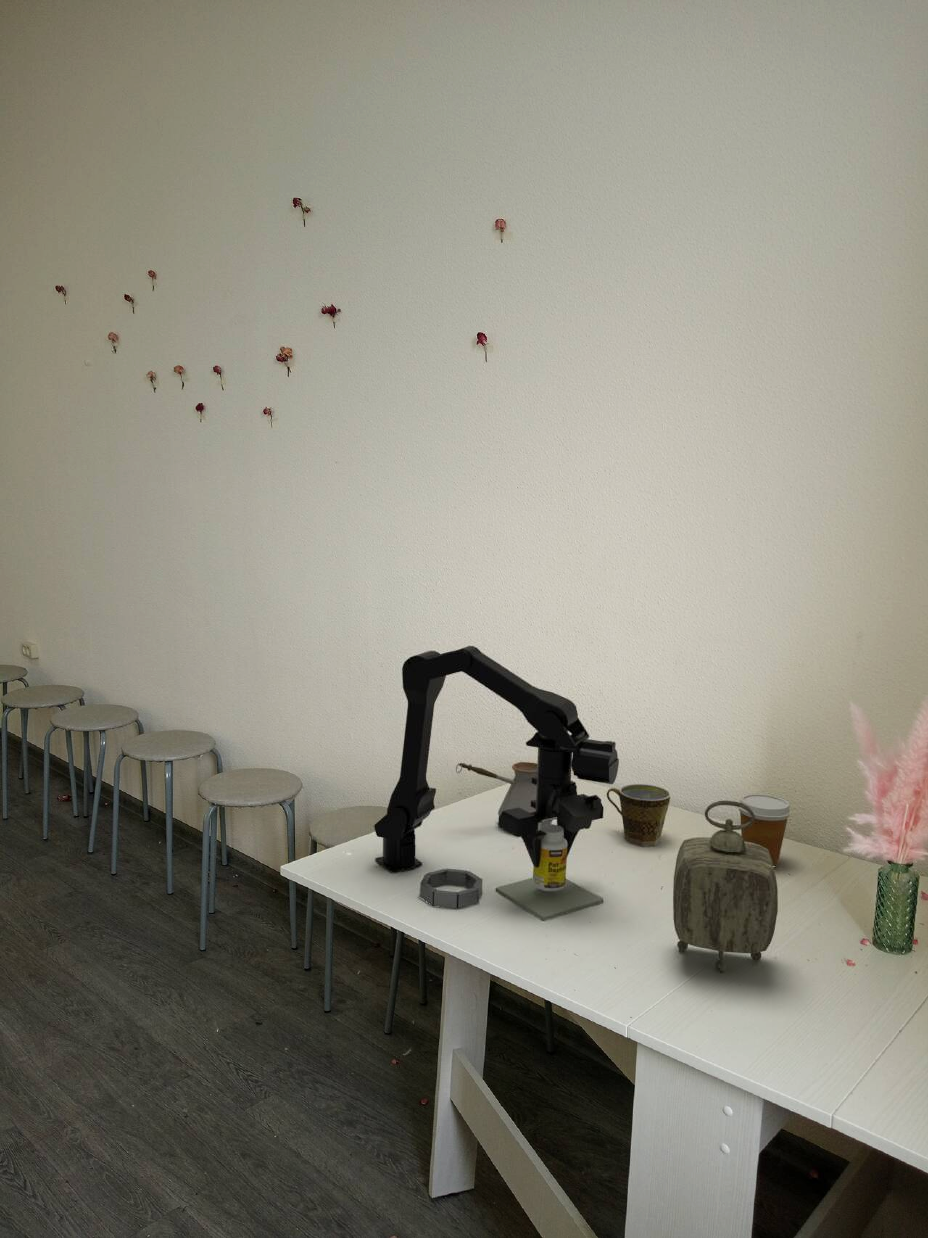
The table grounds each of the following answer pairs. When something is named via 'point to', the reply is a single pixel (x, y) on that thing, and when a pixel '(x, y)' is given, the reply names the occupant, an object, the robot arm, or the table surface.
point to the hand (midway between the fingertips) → (549, 863)
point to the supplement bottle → (551, 860)
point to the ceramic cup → (642, 812)
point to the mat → (549, 898)
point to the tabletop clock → (725, 892)
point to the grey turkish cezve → (515, 786)
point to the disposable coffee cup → (765, 822)
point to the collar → (447, 897)
